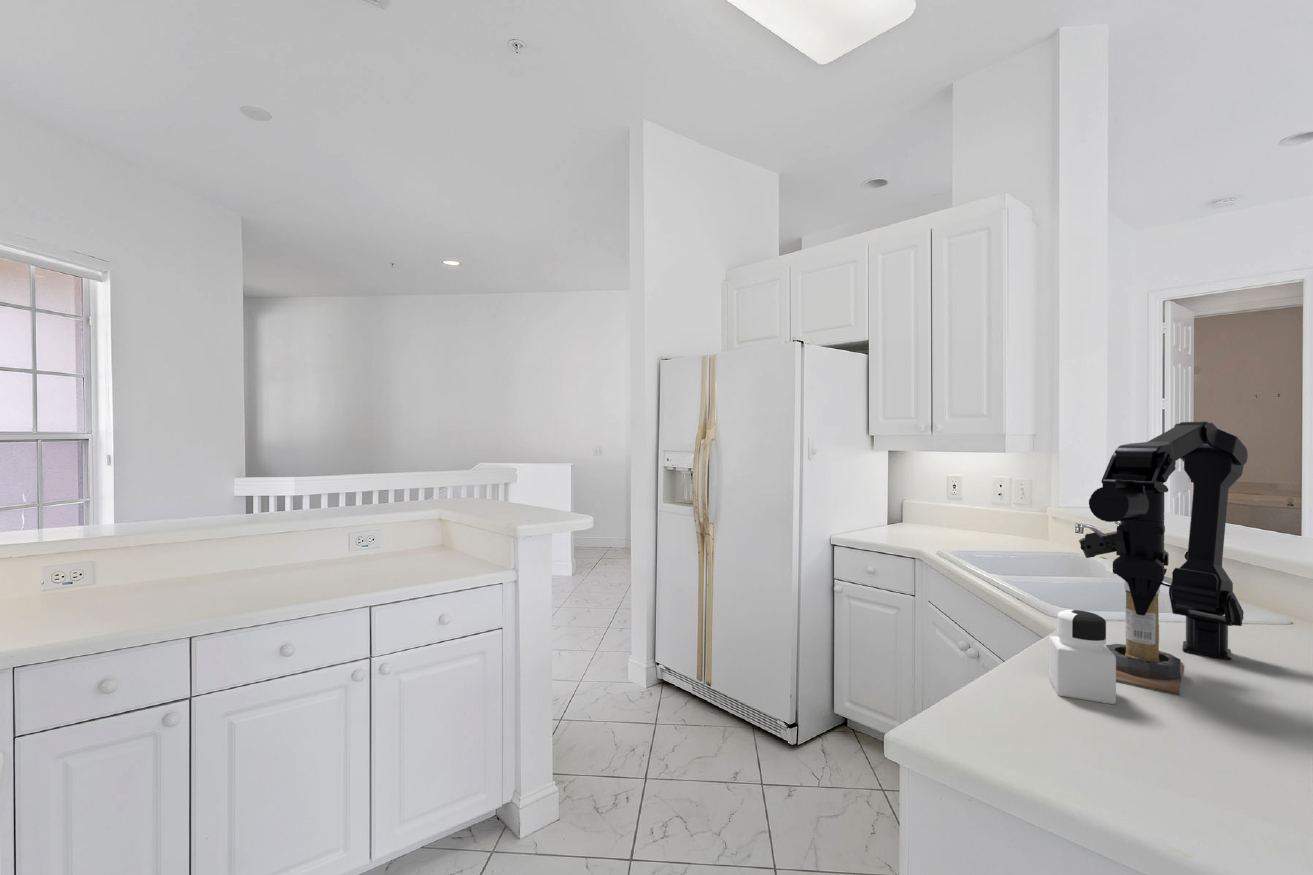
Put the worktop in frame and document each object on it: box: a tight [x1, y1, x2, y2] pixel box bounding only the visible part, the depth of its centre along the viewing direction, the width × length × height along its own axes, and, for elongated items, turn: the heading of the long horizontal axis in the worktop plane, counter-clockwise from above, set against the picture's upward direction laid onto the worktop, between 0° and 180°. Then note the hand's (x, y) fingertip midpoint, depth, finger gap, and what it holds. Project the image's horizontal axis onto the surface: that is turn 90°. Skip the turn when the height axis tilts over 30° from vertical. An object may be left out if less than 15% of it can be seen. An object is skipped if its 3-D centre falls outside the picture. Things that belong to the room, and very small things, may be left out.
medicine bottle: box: [1048, 609, 1117, 705], centre depth 90 cm, size 7×7×12 cm
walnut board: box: [1116, 661, 1184, 697], centre depth 99 cm, size 18×10×1 cm, turn 137°
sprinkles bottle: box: [1124, 580, 1161, 662], centre depth 99 cm, size 5×5×13 cm
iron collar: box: [1105, 643, 1182, 680], centre depth 99 cm, size 10×10×2 cm
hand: (1141, 612), depth 99 cm, fingers closed on sprinkles bottle, 4 cm apart
